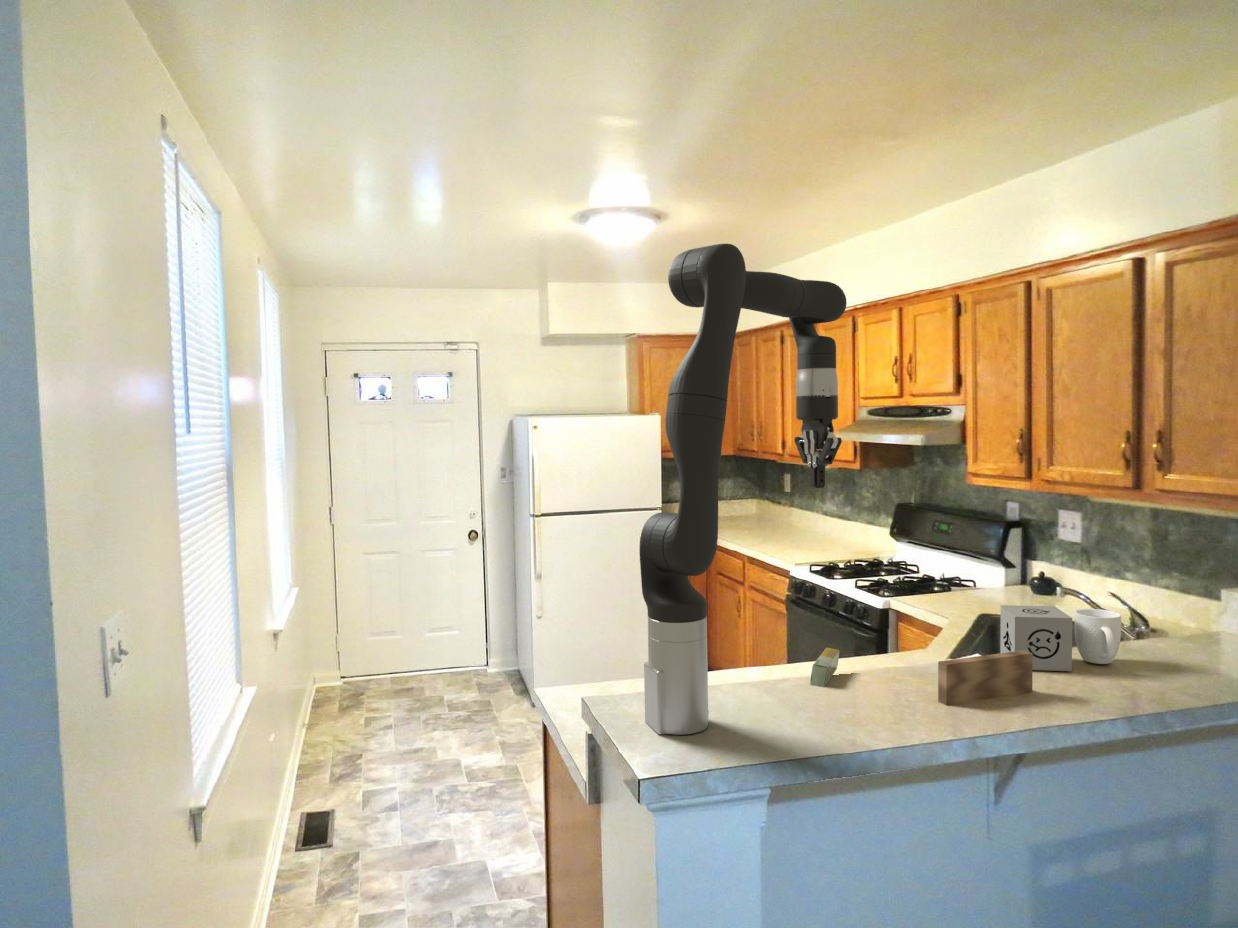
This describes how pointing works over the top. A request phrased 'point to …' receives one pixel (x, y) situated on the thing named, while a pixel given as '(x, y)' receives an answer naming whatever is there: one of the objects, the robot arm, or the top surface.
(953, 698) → the walnut screen
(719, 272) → the robot arm
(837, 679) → the top surface
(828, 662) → the medication box
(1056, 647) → the icon cube
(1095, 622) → the mug
